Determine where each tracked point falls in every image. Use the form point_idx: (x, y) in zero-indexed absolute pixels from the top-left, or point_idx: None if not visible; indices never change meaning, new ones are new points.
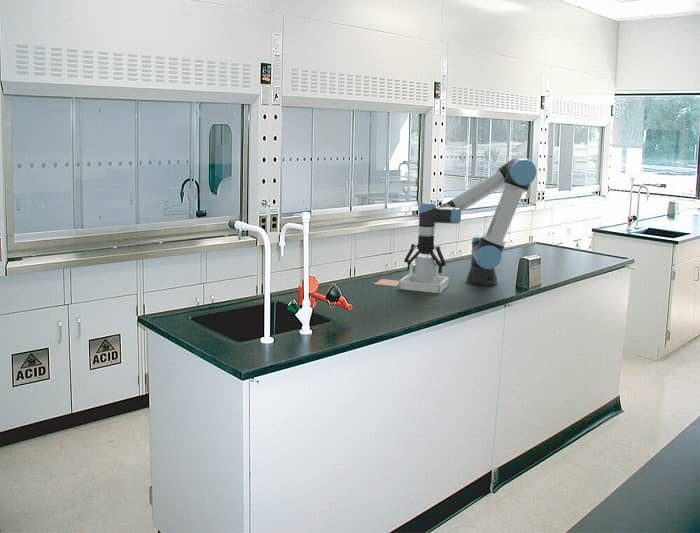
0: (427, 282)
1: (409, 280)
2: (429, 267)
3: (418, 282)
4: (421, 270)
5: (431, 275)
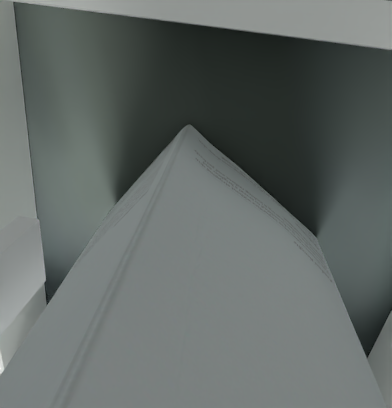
0: (155, 169)
1: (388, 354)
2: (22, 368)
3: (279, 11)
4: (254, 314)
5: (80, 264)
